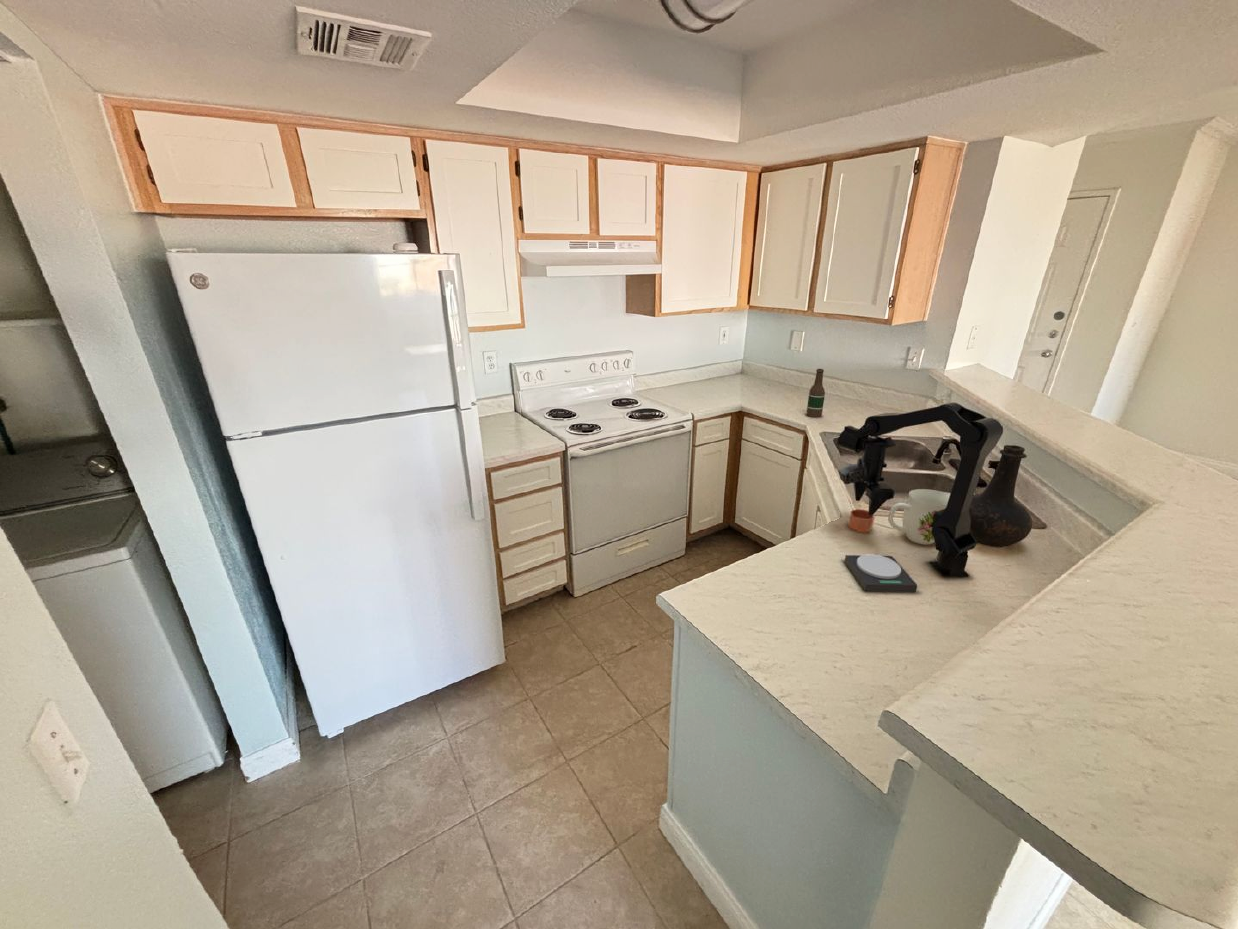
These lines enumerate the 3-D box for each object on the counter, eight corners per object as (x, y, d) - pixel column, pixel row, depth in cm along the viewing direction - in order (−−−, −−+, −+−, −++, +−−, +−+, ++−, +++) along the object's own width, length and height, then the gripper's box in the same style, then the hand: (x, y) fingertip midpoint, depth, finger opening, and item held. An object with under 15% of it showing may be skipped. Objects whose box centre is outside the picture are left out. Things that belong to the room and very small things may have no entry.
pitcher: (876, 528, 149) (884, 486, 143) (939, 529, 147) (950, 487, 142) (892, 547, 138) (902, 503, 133) (960, 549, 137) (972, 504, 132)
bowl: (875, 533, 146) (878, 519, 144) (853, 533, 146) (855, 519, 144) (866, 522, 152) (868, 509, 150) (844, 522, 152) (847, 509, 150)
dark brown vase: (933, 531, 146) (956, 441, 136) (973, 519, 153) (998, 432, 143) (997, 562, 131) (1029, 463, 121) (1038, 547, 138) (1071, 451, 128)
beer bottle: (819, 418, 253) (826, 371, 244) (803, 416, 258) (809, 369, 249) (823, 415, 259) (830, 368, 250) (808, 412, 264) (814, 367, 255)
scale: (915, 592, 120) (918, 582, 119) (864, 591, 120) (866, 581, 119) (890, 562, 132) (892, 553, 131) (844, 561, 132) (845, 552, 131)
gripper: (832, 446, 150) (825, 493, 155) (857, 470, 132) (848, 522, 138) (870, 446, 149) (861, 494, 155) (900, 470, 132) (889, 523, 138)
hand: (864, 507), depth 146 cm, fingers open, 9 cm apart
